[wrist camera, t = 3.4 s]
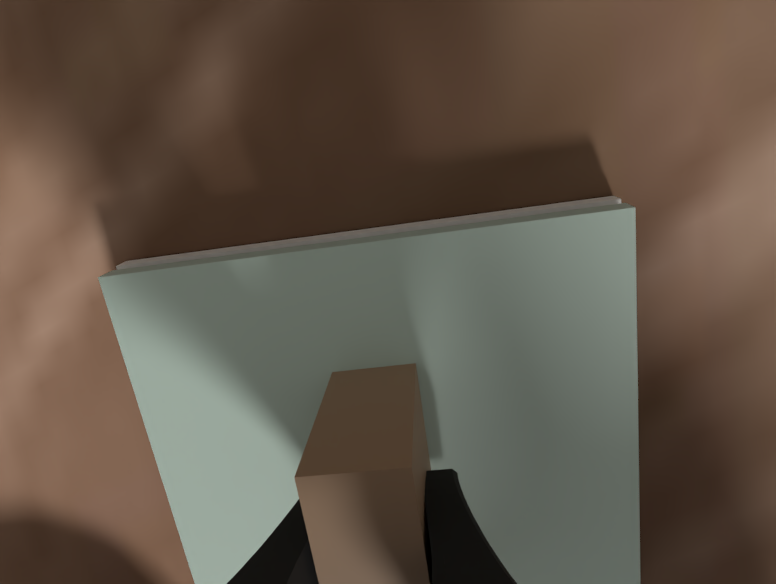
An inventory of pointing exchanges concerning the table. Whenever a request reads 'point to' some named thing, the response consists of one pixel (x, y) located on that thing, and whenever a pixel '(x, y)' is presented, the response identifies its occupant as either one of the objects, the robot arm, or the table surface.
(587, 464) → the lid
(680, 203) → the table surface
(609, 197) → the mat
